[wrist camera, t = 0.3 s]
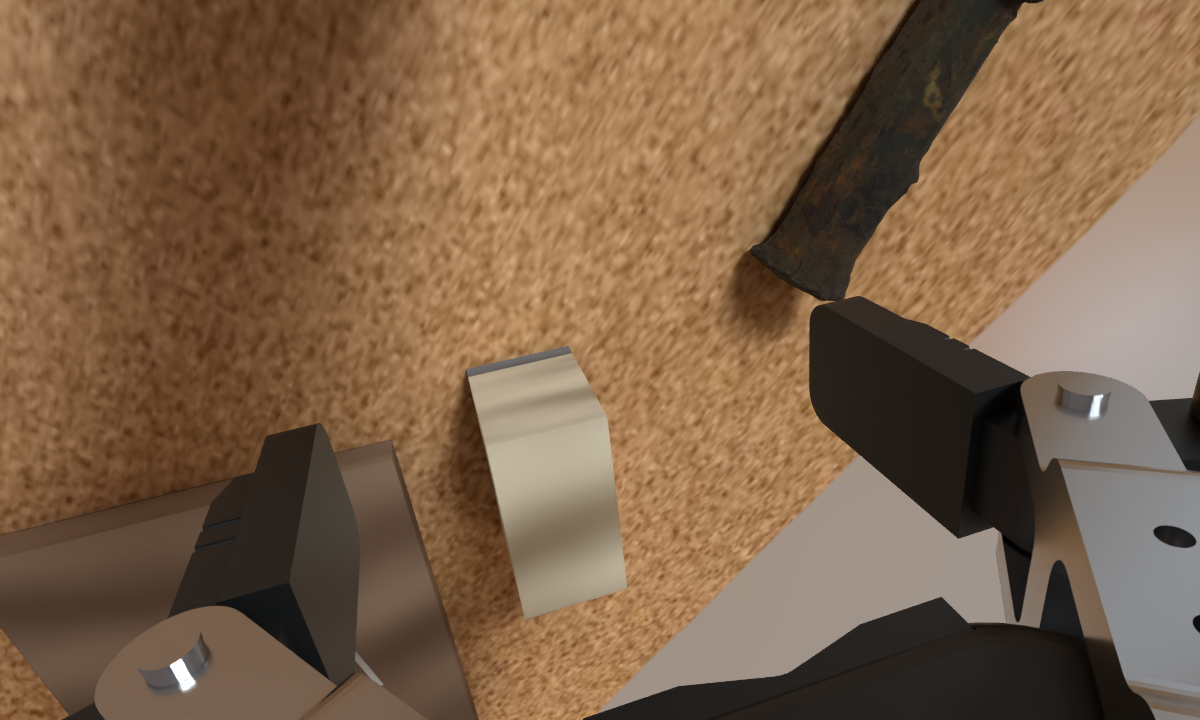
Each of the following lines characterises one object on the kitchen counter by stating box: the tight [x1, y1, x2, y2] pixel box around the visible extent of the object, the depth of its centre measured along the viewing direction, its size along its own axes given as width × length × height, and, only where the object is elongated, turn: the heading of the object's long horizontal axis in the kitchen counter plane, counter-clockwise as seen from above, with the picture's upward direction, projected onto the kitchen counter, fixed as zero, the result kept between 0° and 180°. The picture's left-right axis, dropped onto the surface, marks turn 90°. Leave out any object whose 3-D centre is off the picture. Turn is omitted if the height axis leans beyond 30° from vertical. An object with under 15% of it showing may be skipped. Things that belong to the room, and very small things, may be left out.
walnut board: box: [0, 440, 479, 720], centre depth 33 cm, size 20×16×2 cm
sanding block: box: [466, 346, 627, 619], centre depth 30 cm, size 9×4×6 cm, turn 6°
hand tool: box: [751, 0, 1043, 301], centre depth 28 cm, size 19×4×5 cm, turn 149°
